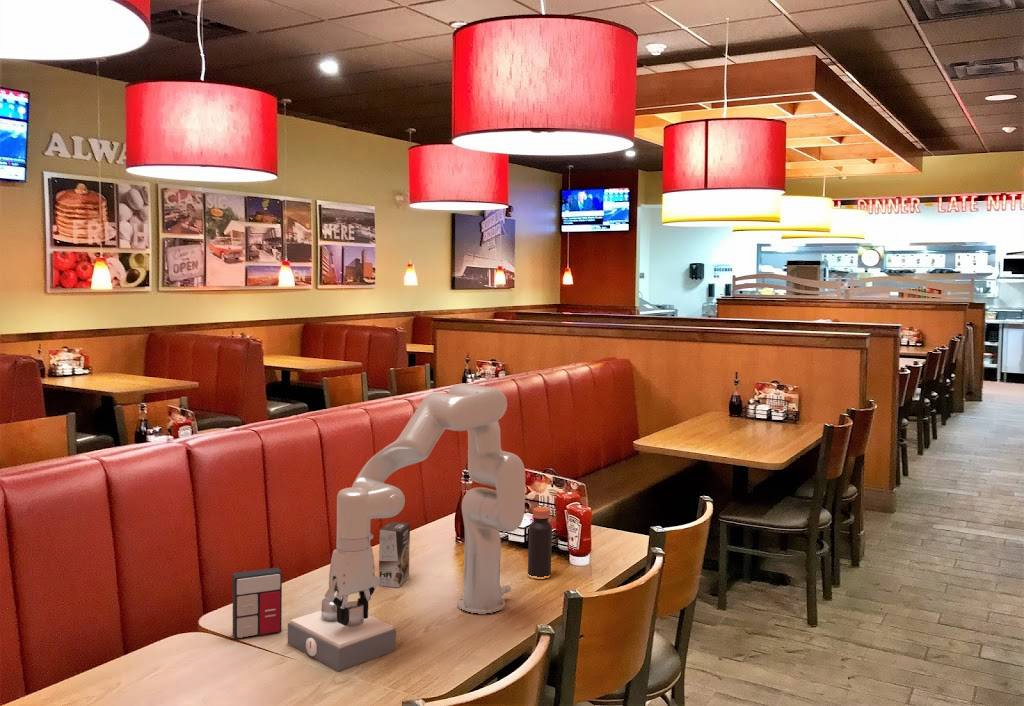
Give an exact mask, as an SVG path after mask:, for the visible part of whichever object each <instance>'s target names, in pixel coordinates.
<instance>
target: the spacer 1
mask: <svg viewBox="0 0 1024 706" xmlns="http://www.w3.org/2000/svg"><path fill="white" fill-rule="evenodd" d="M341 601H342V598H341ZM320 611H321V619H322V620H324V621H328V622H335V621H337V606H335V605H334V604H333V603H332V602H331V601H330V600H328V599H327V598H325V597H324V598H323V599H322V600H321V610H320Z"/></svg>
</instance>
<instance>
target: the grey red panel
mask: <svg viewBox="0 0 1024 706" xmlns="http://www.w3.org/2000/svg"><path fill="white" fill-rule="evenodd" d="M282 574H283V573H282V571H281V569H280V567H270V568H263V569H256V570H248V571H240V572H234V573H232V575H231V576H232V577H231V578H232V579H231V580H232V581H231V585H232V587H231V589H232V591H231V592H232V636H233V638H234V639H235V638H240V639H242V638H241V637H247V636H253V637H255V636H254V635H259V636H263V634H266V635H271V634H270V633H272V634H277V633H276V632H278V633H281V632H282V614H283V613H282V611H283V609H282V603H283V602H282V600H283V599H282V597H283V587H282V585H283V583H282V582H283V575H282ZM247 638H248V637H247Z"/></svg>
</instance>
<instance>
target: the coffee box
mask: <svg viewBox="0 0 1024 706" xmlns="http://www.w3.org/2000/svg"><path fill="white" fill-rule="evenodd" d="M410 539H411V523H409V522H395V521H393V522H392V521H390V522H388V523H387V524H385V525H384V526H383V527H381V528H380V529H379V543H378V544H379V550H378V553H379V554H378V579H379V581H380V583H379V585H378V586H382V587H390V588H396V587H398V588H400V587H402V585H403V584H404V583H406V581H407V580H408V579H409V578H410V549H411V548H410V546H411V540H410ZM408 577H409V578H408ZM407 578H408V579H407ZM406 579H407V580H406Z"/></svg>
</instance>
